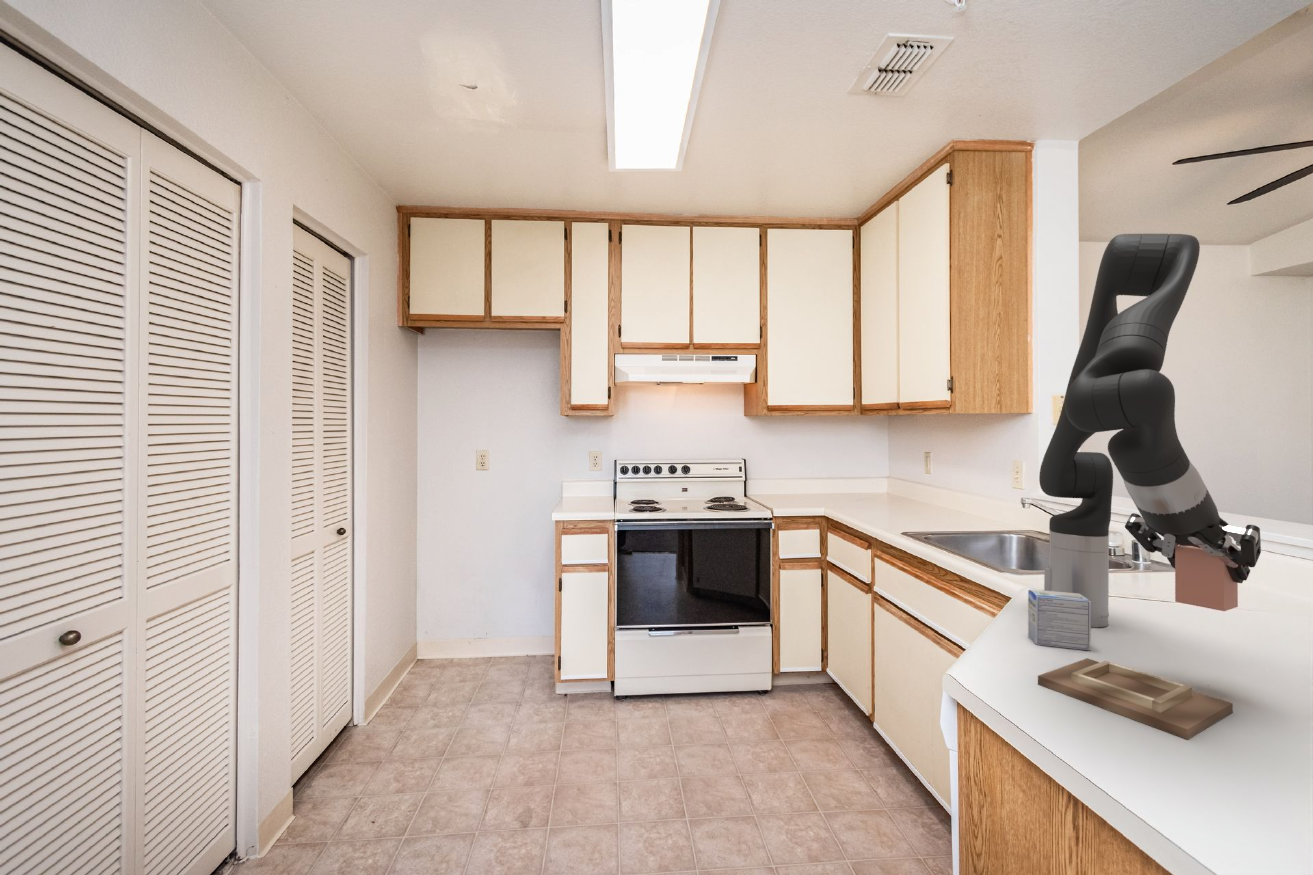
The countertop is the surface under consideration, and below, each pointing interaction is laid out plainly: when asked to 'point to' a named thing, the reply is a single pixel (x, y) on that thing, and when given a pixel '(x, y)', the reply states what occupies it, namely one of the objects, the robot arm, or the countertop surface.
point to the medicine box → (1059, 619)
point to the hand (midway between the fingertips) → (1211, 572)
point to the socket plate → (1138, 696)
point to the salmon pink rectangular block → (1203, 580)
